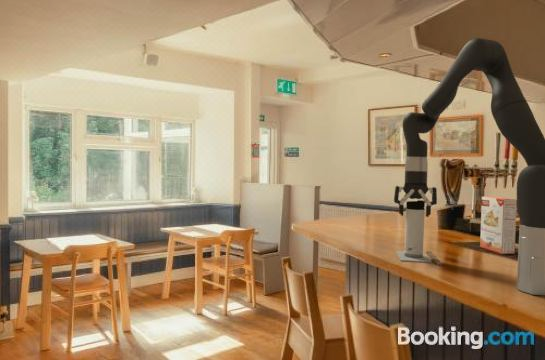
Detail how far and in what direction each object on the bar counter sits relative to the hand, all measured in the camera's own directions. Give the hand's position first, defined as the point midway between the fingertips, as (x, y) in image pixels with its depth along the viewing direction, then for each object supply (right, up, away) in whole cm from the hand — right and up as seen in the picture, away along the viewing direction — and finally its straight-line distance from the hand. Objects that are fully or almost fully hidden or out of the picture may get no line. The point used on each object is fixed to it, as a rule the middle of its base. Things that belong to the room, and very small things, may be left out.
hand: (414, 216), depth 161 cm
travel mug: (0, -14, 0) cm, 14 cm away
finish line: (+7, -15, -1) cm, 16 cm away
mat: (0, -15, +1) cm, 15 cm away
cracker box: (+37, -15, +18) cm, 44 cm away
